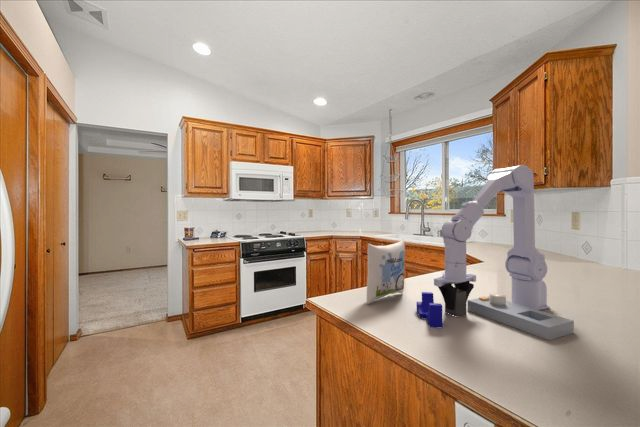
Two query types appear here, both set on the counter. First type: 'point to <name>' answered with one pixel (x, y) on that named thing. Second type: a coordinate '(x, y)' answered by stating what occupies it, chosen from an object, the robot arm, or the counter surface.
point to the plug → (458, 304)
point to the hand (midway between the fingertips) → (455, 308)
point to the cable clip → (430, 310)
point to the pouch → (385, 270)
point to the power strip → (521, 316)
